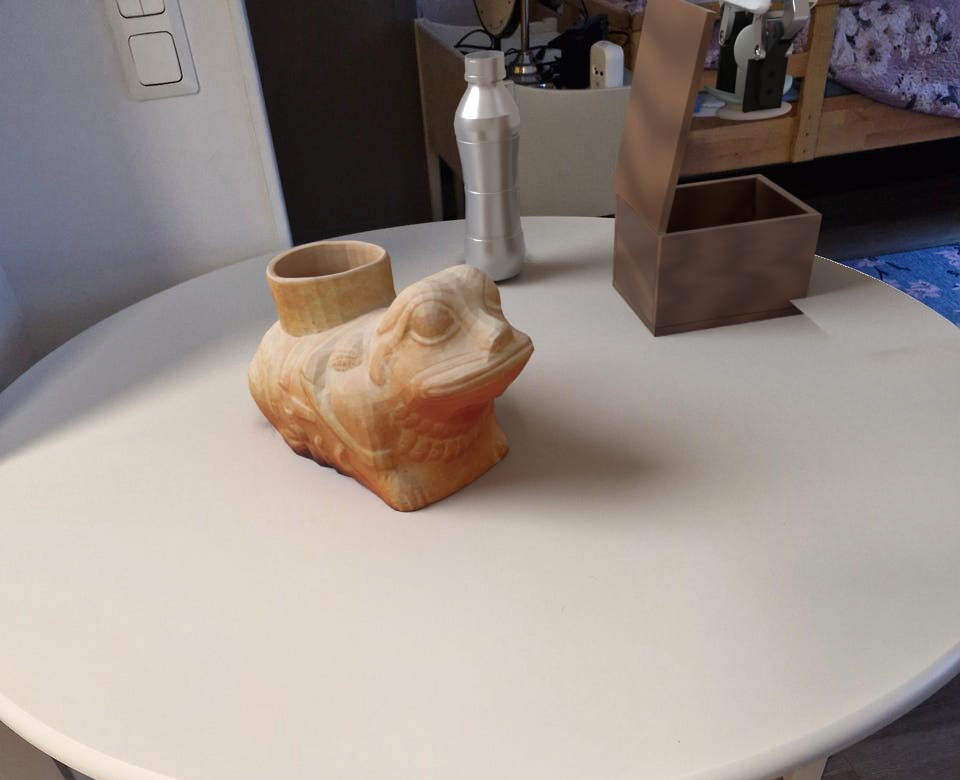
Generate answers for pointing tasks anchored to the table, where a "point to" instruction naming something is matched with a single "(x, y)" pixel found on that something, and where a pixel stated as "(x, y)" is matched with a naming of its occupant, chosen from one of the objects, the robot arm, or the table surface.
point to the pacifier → (735, 101)
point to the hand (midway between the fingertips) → (746, 103)
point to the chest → (716, 256)
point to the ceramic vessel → (386, 370)
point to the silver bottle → (490, 168)
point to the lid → (662, 106)
